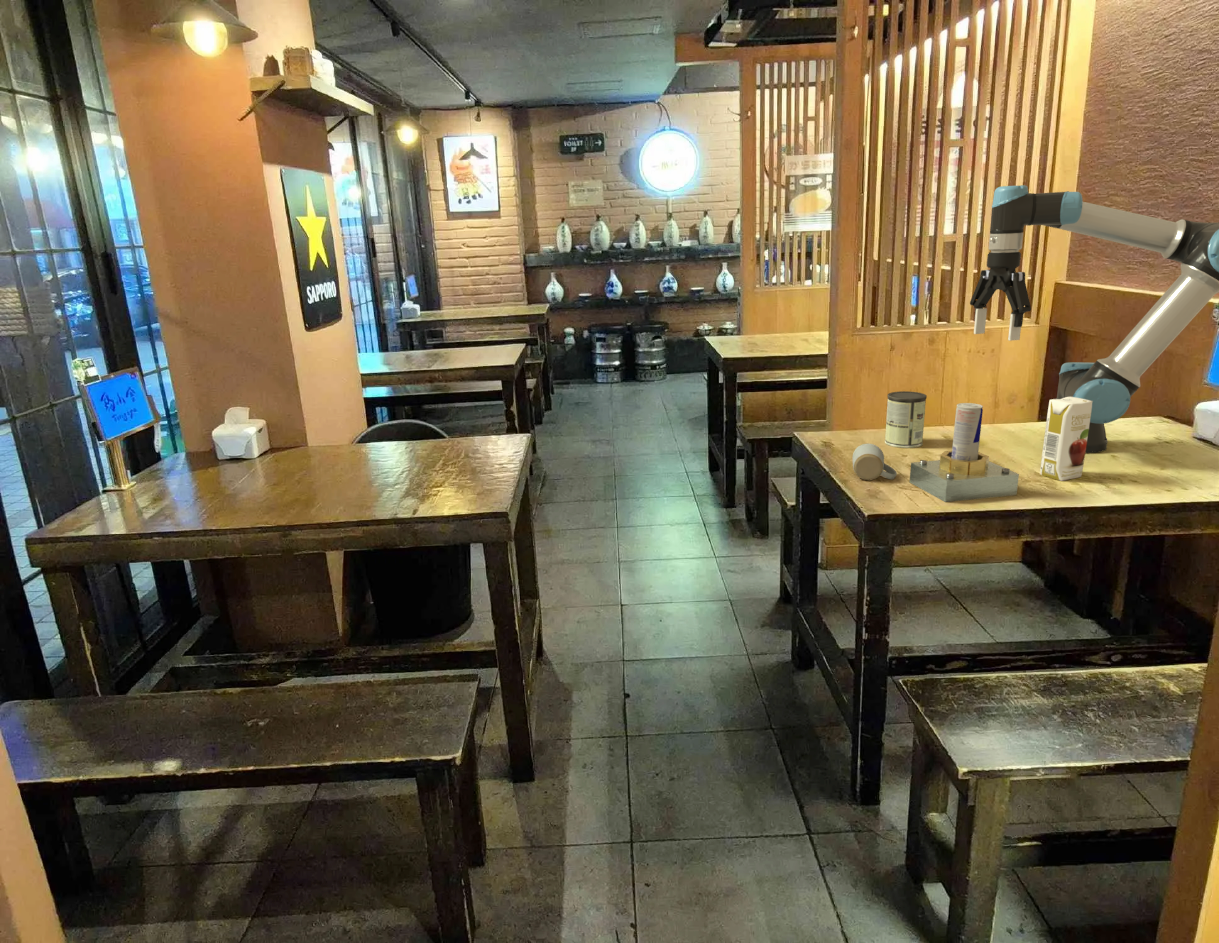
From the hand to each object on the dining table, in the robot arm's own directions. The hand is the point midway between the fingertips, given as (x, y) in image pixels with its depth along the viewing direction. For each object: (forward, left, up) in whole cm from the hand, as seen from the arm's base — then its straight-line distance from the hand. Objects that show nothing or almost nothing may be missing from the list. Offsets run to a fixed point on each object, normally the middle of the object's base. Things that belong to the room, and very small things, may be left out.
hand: (995, 336), depth 208 cm
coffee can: (+14, -17, -32) cm, 38 cm away
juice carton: (-6, +21, -32) cm, 39 cm away
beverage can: (+22, +23, -27) cm, 42 cm away
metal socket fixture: (+22, +23, -32) cm, 45 cm away
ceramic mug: (+37, +9, -32) cm, 50 cm away
